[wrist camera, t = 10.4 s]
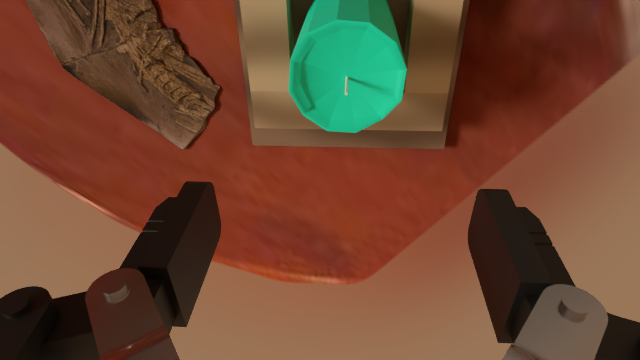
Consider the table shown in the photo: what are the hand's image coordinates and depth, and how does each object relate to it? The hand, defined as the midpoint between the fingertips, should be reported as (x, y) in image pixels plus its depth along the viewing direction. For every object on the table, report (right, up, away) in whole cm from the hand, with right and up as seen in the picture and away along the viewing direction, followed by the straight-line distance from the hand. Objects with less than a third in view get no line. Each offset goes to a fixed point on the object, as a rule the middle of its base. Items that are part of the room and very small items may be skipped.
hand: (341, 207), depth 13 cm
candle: (+1, +12, +17) cm, 21 cm away
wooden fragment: (-17, +14, +19) cm, 29 cm away
